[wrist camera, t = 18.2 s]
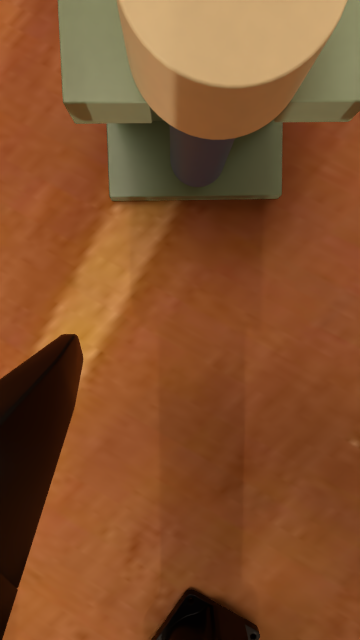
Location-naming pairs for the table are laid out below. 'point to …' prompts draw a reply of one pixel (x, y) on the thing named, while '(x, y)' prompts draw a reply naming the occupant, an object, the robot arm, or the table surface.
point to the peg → (221, 68)
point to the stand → (154, 133)
